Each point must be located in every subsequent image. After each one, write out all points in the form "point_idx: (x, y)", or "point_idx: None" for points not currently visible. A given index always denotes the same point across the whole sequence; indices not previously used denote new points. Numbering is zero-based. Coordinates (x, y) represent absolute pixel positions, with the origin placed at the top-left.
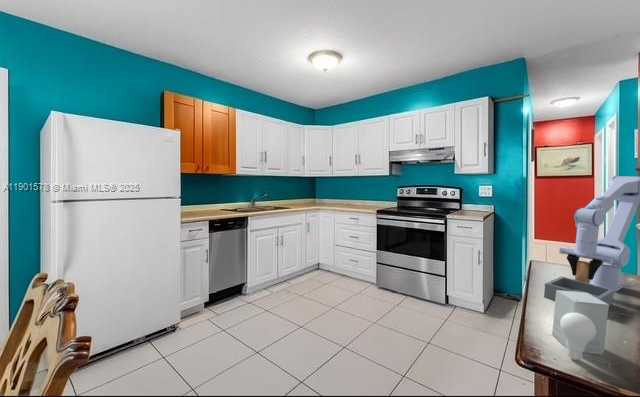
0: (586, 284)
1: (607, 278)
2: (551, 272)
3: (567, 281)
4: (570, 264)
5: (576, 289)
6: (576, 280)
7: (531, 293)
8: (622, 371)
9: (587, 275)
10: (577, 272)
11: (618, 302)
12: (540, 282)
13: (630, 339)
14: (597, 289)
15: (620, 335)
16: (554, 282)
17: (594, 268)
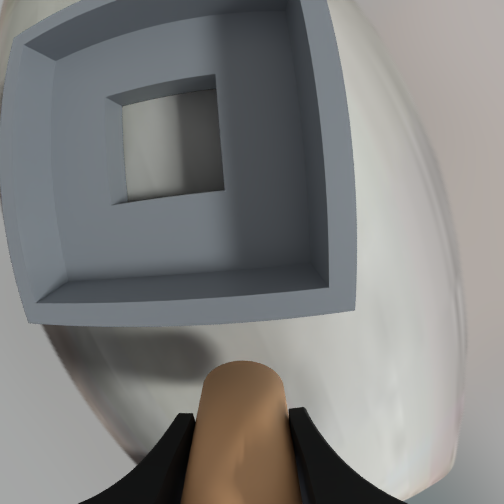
0: (147, 298)
1: None
2: (407, 451)
3: (291, 279)
4: (347, 470)
5: (221, 268)
6: (231, 316)
7: (358, 19)
8: None
9: (196, 433)
10: (269, 429)
11: (90, 348)
12: (427, 278)
13: (4, 11)
14: (92, 293)
15: (18, 4)
16: (309, 51)
17: (123, 485)
